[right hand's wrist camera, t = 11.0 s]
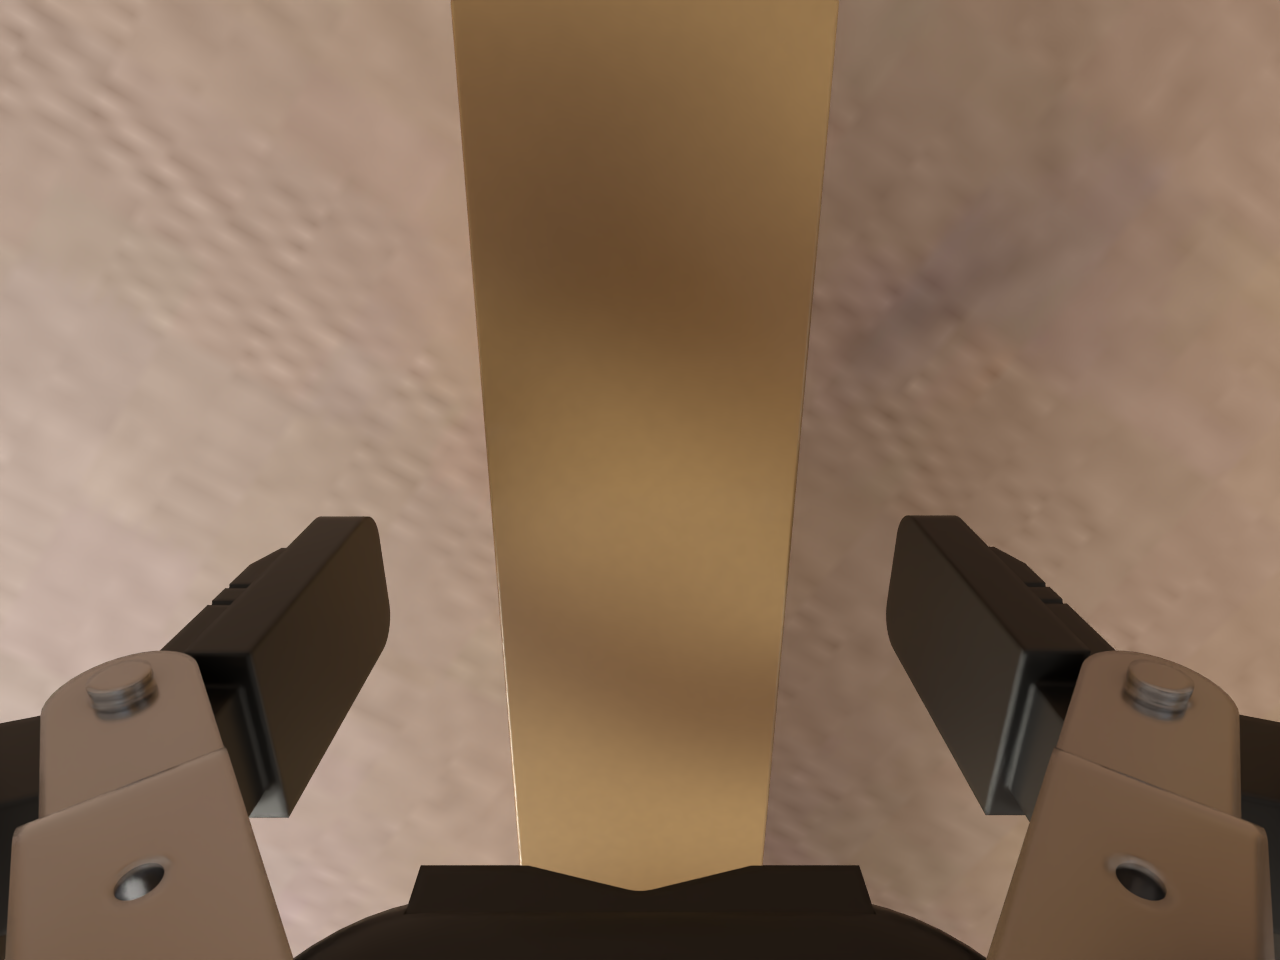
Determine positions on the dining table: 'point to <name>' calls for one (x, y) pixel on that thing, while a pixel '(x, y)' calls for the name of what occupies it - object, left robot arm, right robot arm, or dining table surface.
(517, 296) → the bar
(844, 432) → the dining table surface
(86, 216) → the dining table surface
